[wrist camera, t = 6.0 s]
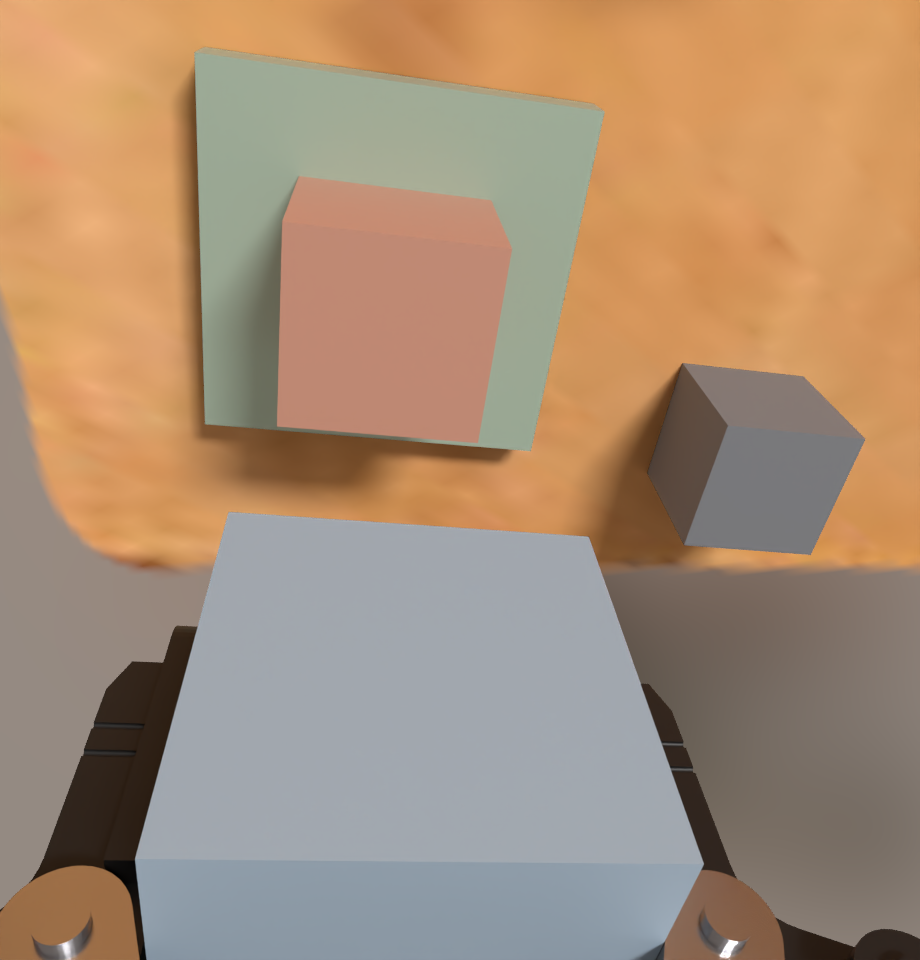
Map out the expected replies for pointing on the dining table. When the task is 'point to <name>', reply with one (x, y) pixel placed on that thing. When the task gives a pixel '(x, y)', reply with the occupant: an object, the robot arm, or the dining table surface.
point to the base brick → (388, 310)
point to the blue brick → (410, 757)
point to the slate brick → (751, 459)
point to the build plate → (388, 163)
